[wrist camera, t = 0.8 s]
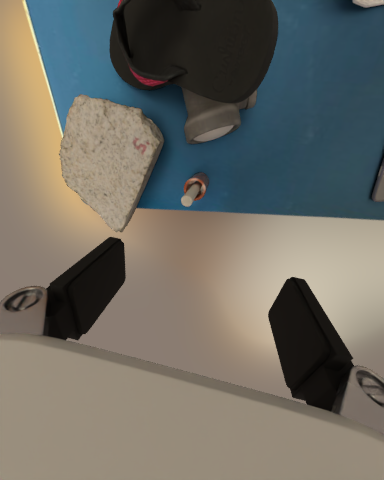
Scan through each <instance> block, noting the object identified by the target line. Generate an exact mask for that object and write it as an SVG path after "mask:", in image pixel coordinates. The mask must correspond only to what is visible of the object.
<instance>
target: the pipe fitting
mask: <svg viewBox="0 0 384 480" xmlns="http://www.w3.org/2000/svg"><path fill="white" fill-rule="evenodd" d="M182 92H183V96H184V100H185V104H186V108H187V112H188V118H187V120H186V123H185V127H184V132H185V136H186V141H187V143H189V144H197V143H202V142H206V141H210V140H214V139H217V138H219V137H222V136H224V135H227V134H229V133H231V132H233V131H235V130H236V129H238V128H239V126H240V125H241V120H240V114H239V109H249V108H252V107H254V105H255V103H256V97H257V90H256V91H255V92H254V93H253V94H252V95H251V96H250V97H248V98H247V99H246V100H244V101H242V102H239V103H223V102H218V101H215V100H211V99H209V98H206V97H203V96H201V95H198V94H196V93H193V92H191V91H189V90H187V89H185V88H182Z"/></svg>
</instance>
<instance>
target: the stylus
mask: <svg viewBox="0 0 384 480" xmlns="http://www.w3.org/2000/svg"><path fill="white" fill-rule="evenodd" d="M201 187H202V184H201V183H200V182H199V181H195V183H194V184H193V185H192V186H191V187H190V189H189V190H188V191H187V192H186V194H185V195H184V196H183V197H182V199H181V202H182V204H183V205H184V206H186V207H188V206H190V205H191V204H192V203H193V201H194V199H195V197H196V195H197V194H198V192H199V190H200V188H201Z"/></svg>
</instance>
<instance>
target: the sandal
mask: <svg viewBox="0 0 384 480" xmlns="http://www.w3.org/2000/svg"><path fill="white" fill-rule="evenodd" d="M113 17H114V21H113V26H112V31H111V36H110V57H111V61H112V64H113V66H114V68H115V70H116V72H117V73H118V75H119V76H120V77H121V78H122V79H123V80H124V81H125V82H127V83H128V84H130V85H131V86H133V87H135V88H138V89H142V90H154V89H158V88H161V87H164V86H166V85H170V84H176V85H178V86H180V87H182V88H185V89H187V90H189V91H191V92H193V93H196V94H198V95H201V96H203V97H206V98H209V99H211V100H215V101H218V102H223V103H239V102H242V101H244V100H246V99H247V98H248V97H250V96H251V95H252V94H253V93H254V92H255V91H256V90H257V88H258V87H259V85H260V84H261V82H262V81H263V79H264V77H265V75H266V73H267V71H268V68H269V66H270V63H271V60H272V58H273V54H274V50H275V46H276V41H277V36H278V16H277V11H276V8H275V6H274V4H273V2H272V1H271V0H120V1H119V3H118V7H117V8H116V9H115V10H114V11H113Z"/></svg>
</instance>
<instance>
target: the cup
mask: <svg viewBox="0 0 384 480" xmlns="http://www.w3.org/2000/svg"><path fill="white" fill-rule="evenodd" d="M352 1H353V3H355V4H357V5H360V6H362V7H365V8H367V7H372V6H378V5H384V0H352Z"/></svg>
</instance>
